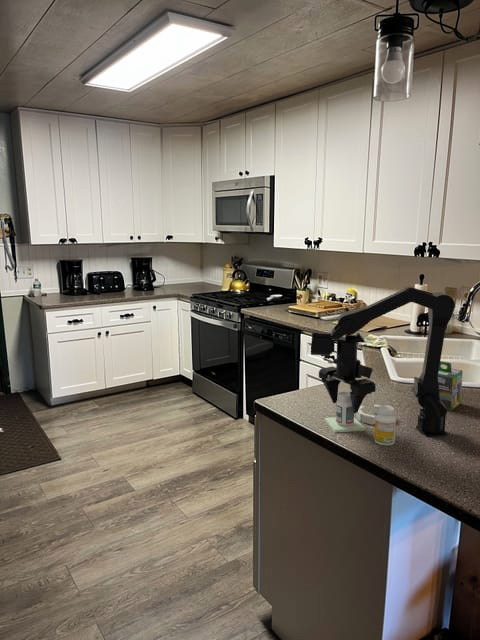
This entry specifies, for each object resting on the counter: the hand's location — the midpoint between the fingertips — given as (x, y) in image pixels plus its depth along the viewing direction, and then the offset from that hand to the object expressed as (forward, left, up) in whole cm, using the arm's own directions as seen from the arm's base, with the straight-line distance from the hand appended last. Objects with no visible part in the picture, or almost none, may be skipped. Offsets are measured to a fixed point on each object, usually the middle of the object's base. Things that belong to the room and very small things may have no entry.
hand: (344, 407), depth 140 cm
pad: (0, 0, -5) cm, 5 cm away
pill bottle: (0, 0, -5) cm, 5 cm away
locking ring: (-11, -4, -5) cm, 13 cm away
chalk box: (-38, -12, -6) cm, 40 cm away
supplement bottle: (-7, +12, -6) cm, 15 cm away
